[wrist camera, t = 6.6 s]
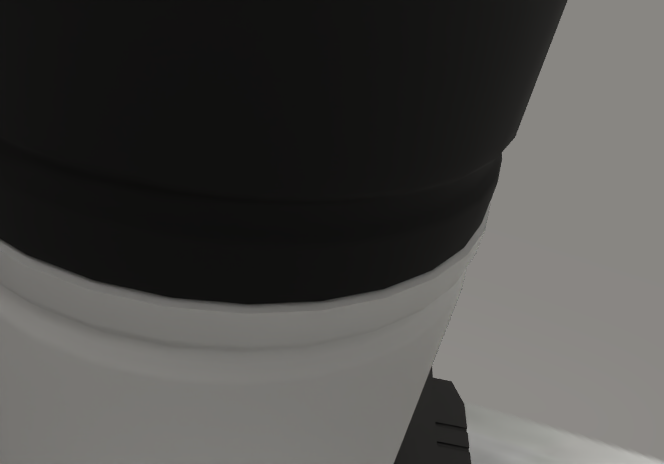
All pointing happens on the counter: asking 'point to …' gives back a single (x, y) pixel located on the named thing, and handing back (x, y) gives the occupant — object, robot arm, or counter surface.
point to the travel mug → (242, 218)
